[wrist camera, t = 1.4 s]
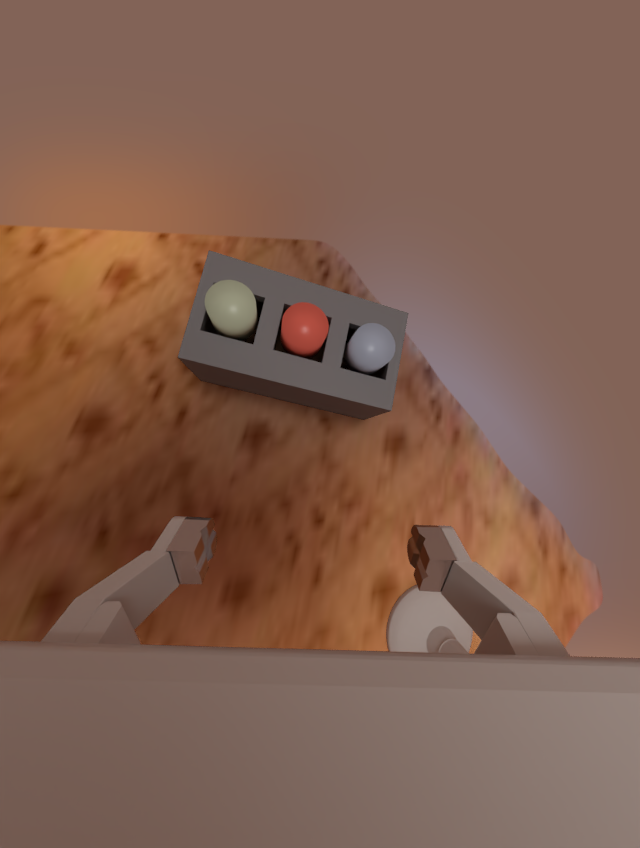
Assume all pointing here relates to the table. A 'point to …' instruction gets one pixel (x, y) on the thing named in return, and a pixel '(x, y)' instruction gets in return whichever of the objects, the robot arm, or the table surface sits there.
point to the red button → (303, 330)
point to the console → (285, 372)
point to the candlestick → (426, 625)
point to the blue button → (369, 349)
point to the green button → (232, 309)
